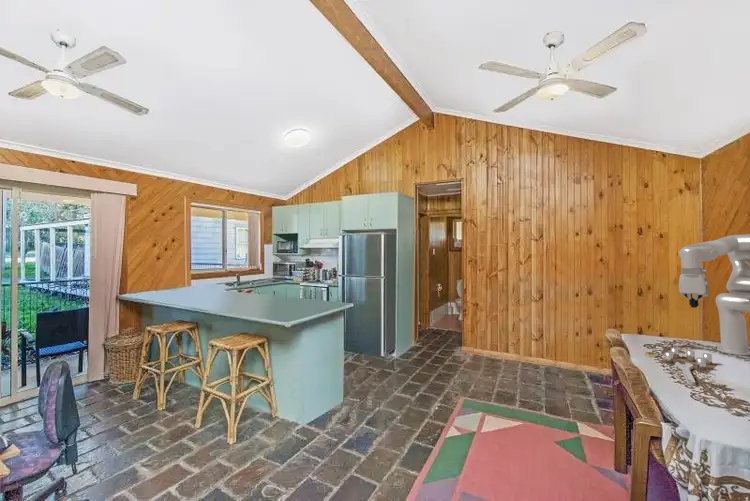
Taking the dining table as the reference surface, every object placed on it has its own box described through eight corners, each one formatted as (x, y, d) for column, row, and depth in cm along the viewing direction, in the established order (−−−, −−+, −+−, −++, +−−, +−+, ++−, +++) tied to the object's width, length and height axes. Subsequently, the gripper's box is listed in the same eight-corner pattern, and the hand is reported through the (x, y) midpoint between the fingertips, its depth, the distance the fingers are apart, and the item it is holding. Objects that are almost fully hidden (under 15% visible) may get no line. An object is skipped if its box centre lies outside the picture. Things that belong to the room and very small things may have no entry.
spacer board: (669, 356, 169) (669, 355, 169) (718, 365, 153) (718, 364, 153) (658, 363, 160) (658, 362, 160) (708, 373, 145) (708, 372, 145)
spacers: (672, 356, 167) (671, 347, 167) (713, 364, 154) (712, 354, 154) (663, 362, 160) (662, 352, 160) (705, 370, 147) (704, 360, 147)
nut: (644, 355, 172) (643, 351, 172) (655, 356, 170) (655, 352, 170) (646, 357, 168) (646, 354, 168) (657, 358, 166) (657, 354, 166)
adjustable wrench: (696, 386, 134) (696, 382, 134) (675, 382, 138) (675, 378, 138) (693, 366, 152) (692, 363, 152) (674, 364, 156) (674, 360, 156)
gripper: (714, 271, 157) (717, 307, 157) (675, 270, 170) (677, 304, 170) (710, 272, 154) (712, 310, 153) (670, 271, 166) (672, 306, 166)
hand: (694, 307), depth 162 cm, fingers closed
